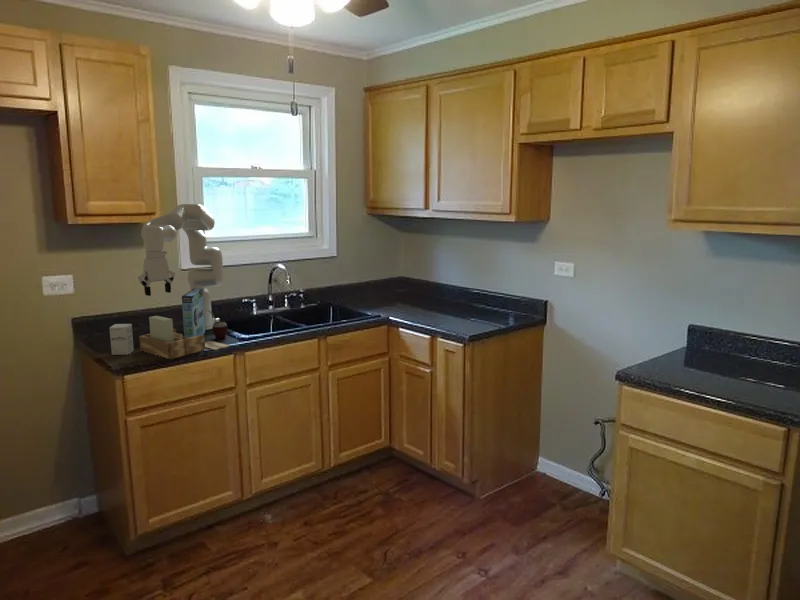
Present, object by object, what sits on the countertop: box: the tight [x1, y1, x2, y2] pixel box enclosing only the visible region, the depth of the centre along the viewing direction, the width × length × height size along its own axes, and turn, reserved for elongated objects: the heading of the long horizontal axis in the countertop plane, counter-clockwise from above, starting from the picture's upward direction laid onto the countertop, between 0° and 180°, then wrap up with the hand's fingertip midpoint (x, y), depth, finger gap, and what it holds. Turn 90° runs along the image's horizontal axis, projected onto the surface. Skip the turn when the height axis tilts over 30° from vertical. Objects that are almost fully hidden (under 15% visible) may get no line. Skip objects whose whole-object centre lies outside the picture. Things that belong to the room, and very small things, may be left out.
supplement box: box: [109, 323, 134, 356], centre depth 263 cm, size 7×7×13 cm
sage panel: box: [148, 315, 174, 342], centre depth 262 cm, size 4×12×16 cm, turn 55°
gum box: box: [181, 289, 206, 338], centre depth 288 cm, size 20×5×23 cm, turn 3°
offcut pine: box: [174, 332, 183, 339], centre depth 271 cm, size 4×6×3 cm
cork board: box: [205, 340, 231, 351], centre depth 274 cm, size 8×14×1 cm, turn 55°
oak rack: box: [138, 327, 206, 360], centre depth 267 cm, size 18×22×7 cm
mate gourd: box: [207, 310, 229, 341], centre depth 286 cm, size 8×8×15 cm
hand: (158, 293), depth 258 cm, fingers open, 9 cm apart
